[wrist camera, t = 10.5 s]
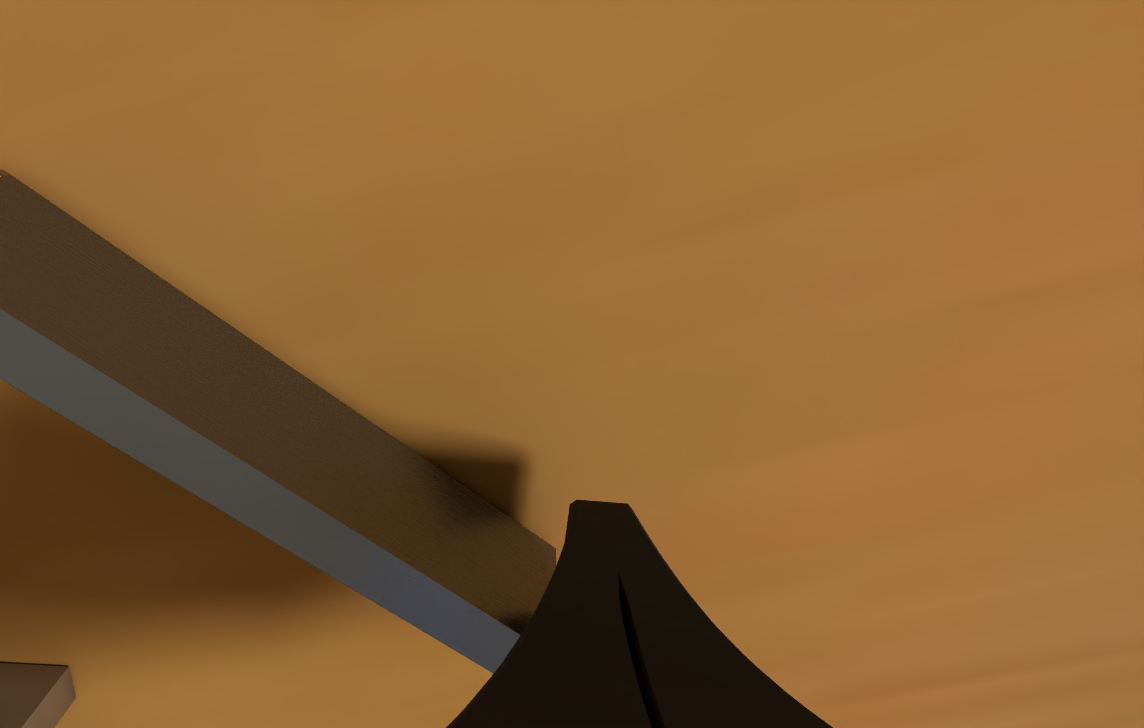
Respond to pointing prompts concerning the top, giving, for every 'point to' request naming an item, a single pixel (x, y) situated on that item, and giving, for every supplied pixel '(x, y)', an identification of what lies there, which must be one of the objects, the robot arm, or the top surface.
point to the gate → (254, 434)
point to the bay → (34, 695)
